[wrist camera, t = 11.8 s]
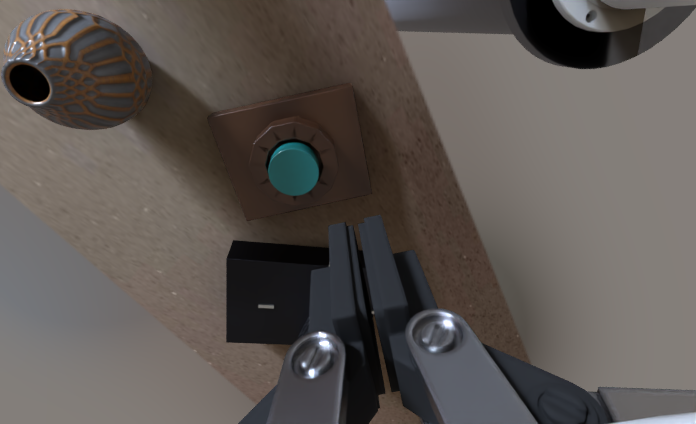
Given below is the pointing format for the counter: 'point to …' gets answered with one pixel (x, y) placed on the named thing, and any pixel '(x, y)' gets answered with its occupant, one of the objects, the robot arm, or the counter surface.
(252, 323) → the black rectangular base
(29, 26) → the vase
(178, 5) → the counter surface
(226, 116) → the brown square base
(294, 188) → the button
